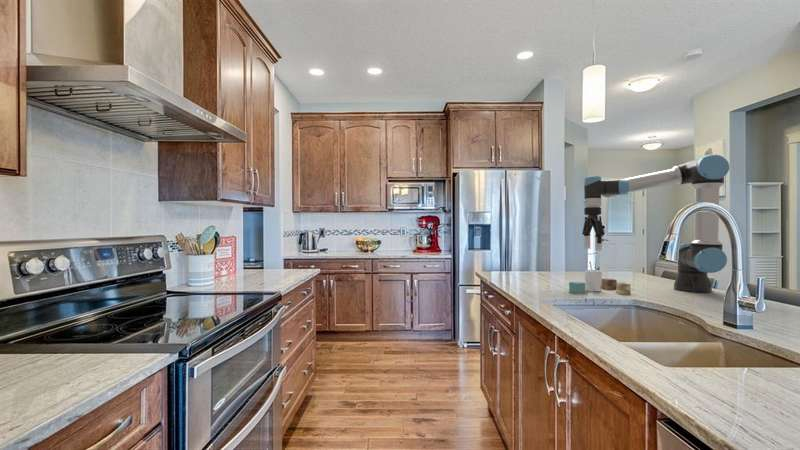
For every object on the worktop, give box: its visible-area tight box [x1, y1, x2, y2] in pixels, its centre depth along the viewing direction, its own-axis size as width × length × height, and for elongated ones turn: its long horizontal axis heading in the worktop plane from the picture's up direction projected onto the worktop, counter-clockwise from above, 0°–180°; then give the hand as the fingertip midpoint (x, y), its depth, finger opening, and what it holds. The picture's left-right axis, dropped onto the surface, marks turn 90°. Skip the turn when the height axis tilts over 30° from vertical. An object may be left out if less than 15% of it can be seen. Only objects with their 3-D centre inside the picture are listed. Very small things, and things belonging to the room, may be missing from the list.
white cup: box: [584, 269, 603, 292], centre depth 190 cm, size 8×8×10 cm
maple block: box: [616, 281, 631, 295], centre depth 182 cm, size 5×5×5 cm
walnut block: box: [601, 278, 618, 291], centre depth 195 cm, size 5×5×5 cm
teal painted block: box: [568, 281, 586, 294], centre depth 185 cm, size 5×5×5 cm
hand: (592, 249), depth 190 cm, fingers open, 13 cm apart
